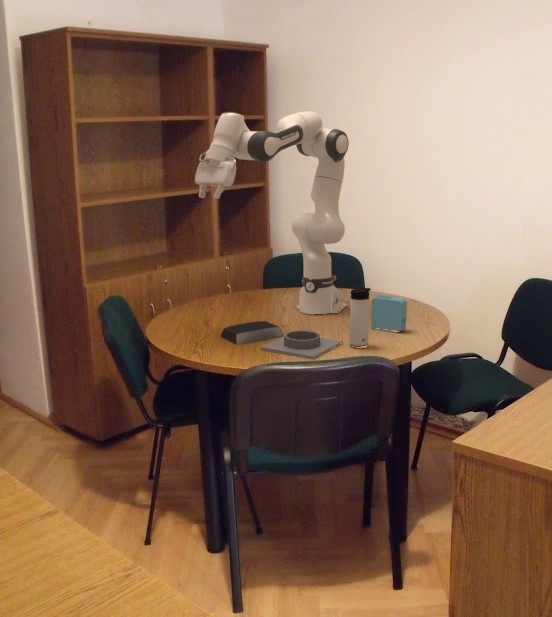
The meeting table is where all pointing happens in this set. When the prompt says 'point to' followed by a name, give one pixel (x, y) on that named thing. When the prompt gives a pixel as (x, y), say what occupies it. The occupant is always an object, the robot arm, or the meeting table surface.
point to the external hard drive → (251, 332)
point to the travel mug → (359, 317)
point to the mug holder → (301, 344)
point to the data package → (389, 313)
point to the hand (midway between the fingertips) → (208, 197)
